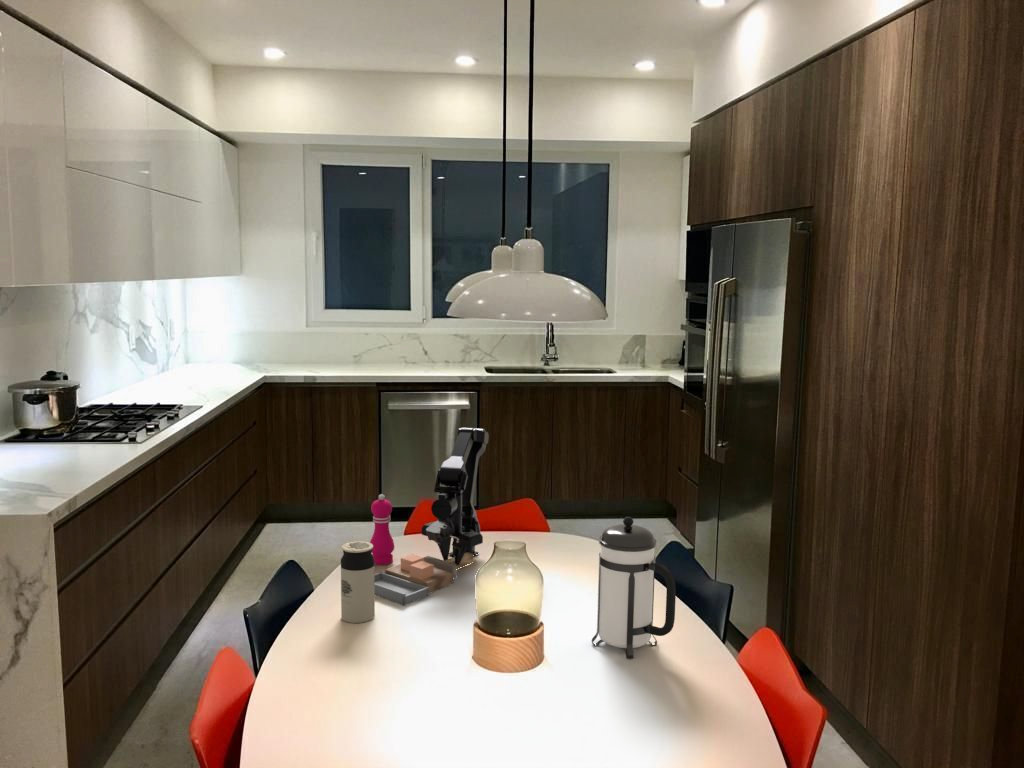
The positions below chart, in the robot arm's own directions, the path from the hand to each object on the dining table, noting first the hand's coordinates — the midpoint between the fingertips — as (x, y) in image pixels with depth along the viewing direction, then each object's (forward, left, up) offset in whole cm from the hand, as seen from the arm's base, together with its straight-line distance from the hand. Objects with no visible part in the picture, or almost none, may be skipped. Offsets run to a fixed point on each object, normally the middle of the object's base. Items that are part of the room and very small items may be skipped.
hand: (451, 563), depth 246 cm
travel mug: (+40, +6, -2) cm, 40 cm away
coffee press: (+11, +65, -2) cm, 66 cm away
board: (+13, 0, -2) cm, 13 cm away
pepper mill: (+8, -20, -2) cm, 22 cm away
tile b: (+15, +3, +1) cm, 15 cm away
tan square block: (+13, -3, +1) cm, 13 cm away
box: (+23, 0, -2) cm, 23 cm away
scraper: (-1, 0, -2) cm, 2 cm away
